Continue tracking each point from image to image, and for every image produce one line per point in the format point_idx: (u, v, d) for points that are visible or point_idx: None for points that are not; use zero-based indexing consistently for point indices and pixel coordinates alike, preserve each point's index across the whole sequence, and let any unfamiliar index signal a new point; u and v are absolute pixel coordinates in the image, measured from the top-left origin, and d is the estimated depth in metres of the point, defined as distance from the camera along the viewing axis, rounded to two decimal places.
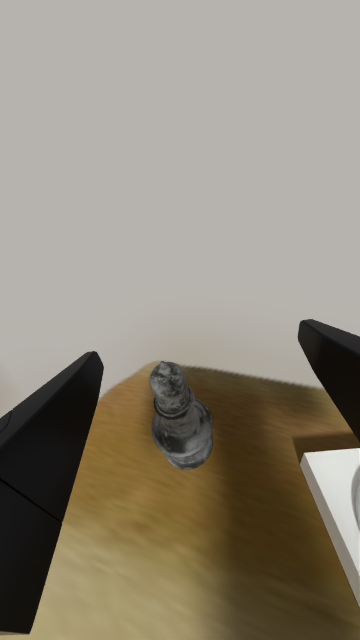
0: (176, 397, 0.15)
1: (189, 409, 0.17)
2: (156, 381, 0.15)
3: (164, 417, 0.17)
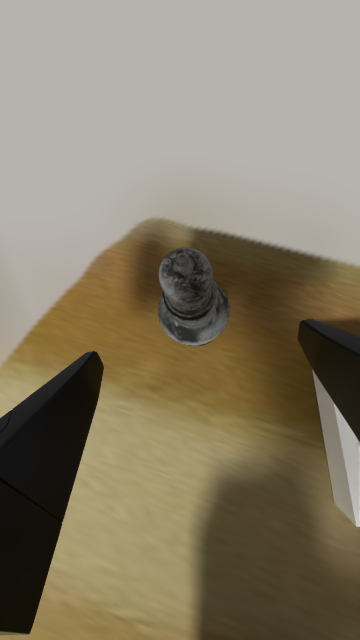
0: (198, 301, 0.11)
1: (210, 308, 0.13)
2: (171, 283, 0.10)
3: (178, 317, 0.13)
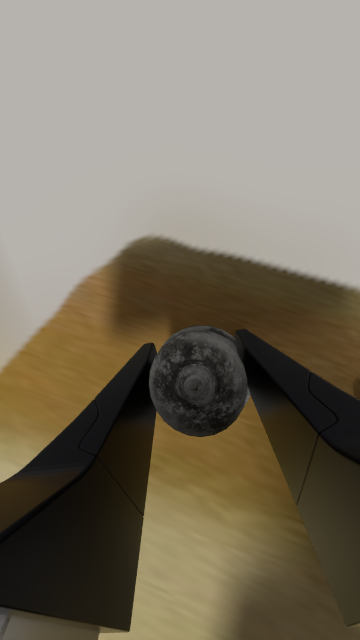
0: None
1: None
2: (172, 414, 0.05)
3: None
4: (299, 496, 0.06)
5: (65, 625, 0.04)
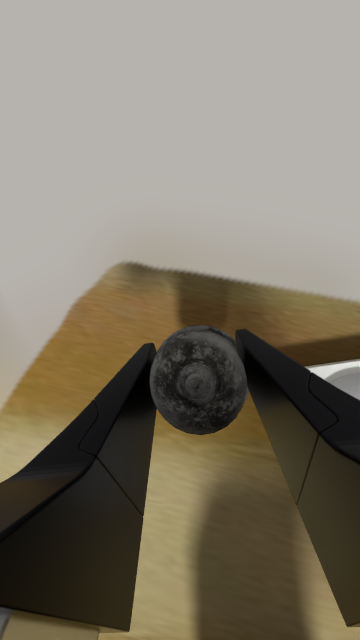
0: None
1: None
2: (173, 412, 0.05)
3: None
4: (299, 496, 0.06)
5: (65, 625, 0.04)
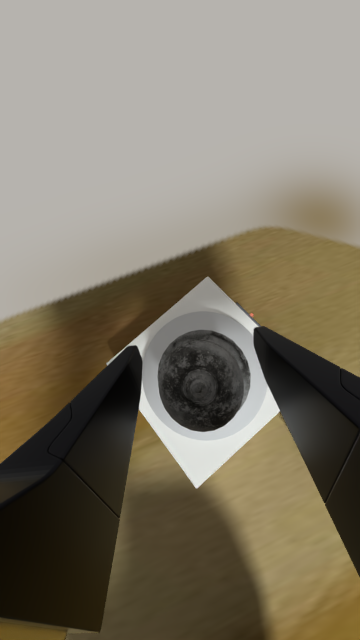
0: None
1: None
2: (179, 412, 0.06)
3: None
4: (328, 494, 0.06)
5: (26, 626, 0.04)
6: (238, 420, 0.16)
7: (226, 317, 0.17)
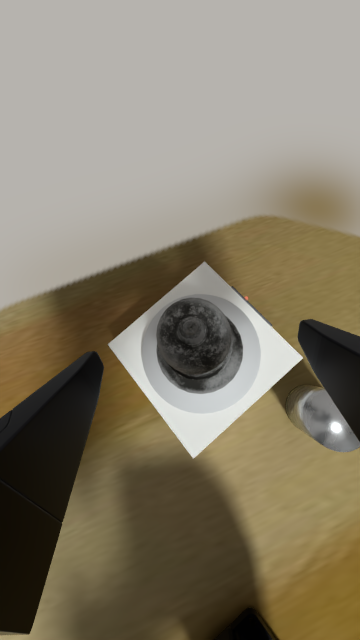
0: None
1: (223, 365, 0.10)
2: (174, 354, 0.07)
3: (182, 375, 0.10)
4: None
5: None
6: (232, 394, 0.17)
7: (222, 299, 0.18)
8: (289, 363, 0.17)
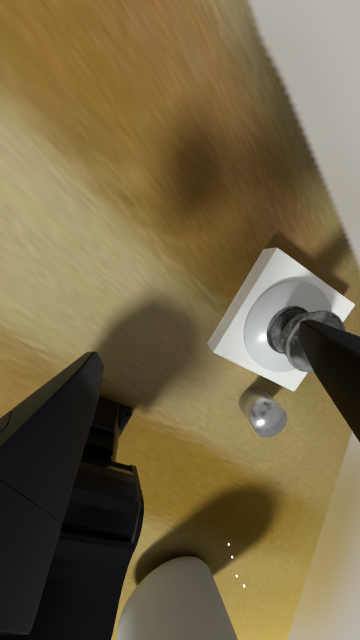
0: None
1: None
2: None
3: None
4: None
5: None
6: (265, 362, 0.22)
7: None
8: (289, 385, 0.25)
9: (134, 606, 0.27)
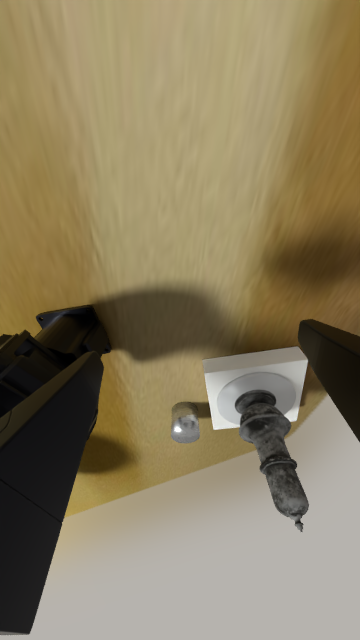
0: (272, 491, 0.19)
1: (260, 470, 0.21)
2: (293, 508, 0.17)
3: (271, 460, 0.20)
4: None
5: None
6: (222, 405, 0.27)
7: None
8: (215, 425, 0.31)
9: None
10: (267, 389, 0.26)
